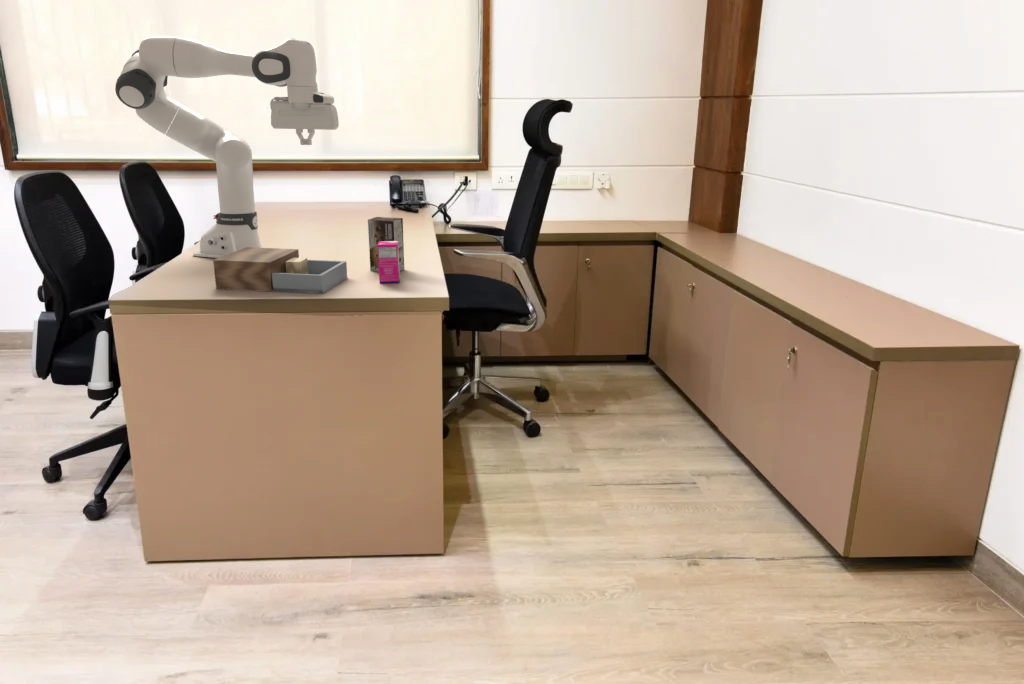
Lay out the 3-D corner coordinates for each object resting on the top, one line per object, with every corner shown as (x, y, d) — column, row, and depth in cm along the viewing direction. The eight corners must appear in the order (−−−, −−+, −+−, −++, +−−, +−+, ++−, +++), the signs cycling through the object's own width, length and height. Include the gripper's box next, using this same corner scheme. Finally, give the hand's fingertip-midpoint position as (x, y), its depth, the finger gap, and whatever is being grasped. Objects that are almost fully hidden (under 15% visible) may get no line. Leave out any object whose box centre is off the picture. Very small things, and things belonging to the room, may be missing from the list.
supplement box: (380, 279, 221) (378, 240, 217) (400, 279, 221) (399, 240, 218) (378, 283, 215) (377, 244, 212) (399, 283, 216) (398, 244, 212)
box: (273, 291, 204) (271, 273, 203) (301, 275, 223) (300, 259, 222) (322, 293, 203) (321, 275, 201) (347, 277, 222) (346, 261, 220)
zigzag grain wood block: (216, 288, 206) (213, 260, 204) (249, 273, 225) (246, 247, 223) (271, 291, 204) (269, 262, 202) (300, 275, 223) (298, 249, 221)
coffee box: (405, 269, 235) (403, 217, 230) (395, 273, 229) (394, 220, 224) (379, 267, 237) (377, 216, 233) (369, 270, 232) (367, 218, 227)
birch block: (285, 261, 208) (299, 262, 208) (293, 257, 214) (307, 258, 214) (287, 282, 210) (301, 283, 210) (295, 278, 216) (308, 278, 215)
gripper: (265, 96, 222) (269, 144, 226) (331, 97, 219) (334, 146, 223) (274, 96, 228) (277, 143, 232) (339, 97, 225) (341, 145, 229)
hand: (306, 144), depth 228 cm, fingers closed
